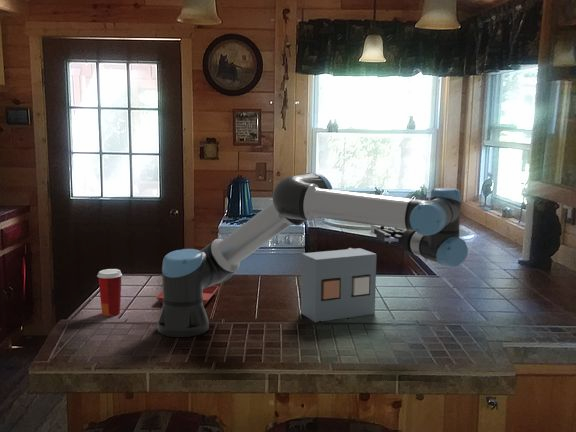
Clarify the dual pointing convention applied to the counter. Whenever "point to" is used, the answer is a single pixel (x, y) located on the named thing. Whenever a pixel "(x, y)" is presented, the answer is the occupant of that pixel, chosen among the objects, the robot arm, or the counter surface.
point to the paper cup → (110, 291)
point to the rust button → (330, 288)
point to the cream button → (360, 285)
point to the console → (343, 269)
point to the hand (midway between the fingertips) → (372, 228)
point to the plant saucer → (207, 294)
